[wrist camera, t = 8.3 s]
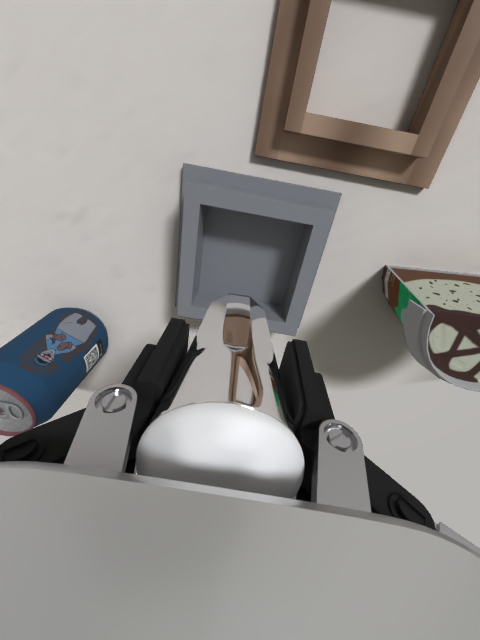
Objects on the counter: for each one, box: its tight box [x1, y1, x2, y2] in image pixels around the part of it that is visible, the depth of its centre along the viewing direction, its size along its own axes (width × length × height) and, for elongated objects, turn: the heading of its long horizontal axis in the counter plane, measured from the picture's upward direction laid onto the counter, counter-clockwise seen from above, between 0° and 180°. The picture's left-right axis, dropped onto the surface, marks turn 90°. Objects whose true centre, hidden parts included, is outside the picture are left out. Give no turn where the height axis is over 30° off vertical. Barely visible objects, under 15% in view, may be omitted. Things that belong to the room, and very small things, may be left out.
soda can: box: [0, 308, 108, 436], centre depth 26 cm, size 7×7×12 cm
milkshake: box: [136, 293, 304, 499], centre depth 10 cm, size 4×5×10 cm
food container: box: [382, 265, 480, 392], centre depth 23 cm, size 12×6×10 cm, turn 85°
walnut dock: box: [254, 0, 480, 189], centre depth 18 cm, size 14×14×2 cm
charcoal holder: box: [175, 163, 341, 336], centre depth 24 cm, size 13×13×4 cm
